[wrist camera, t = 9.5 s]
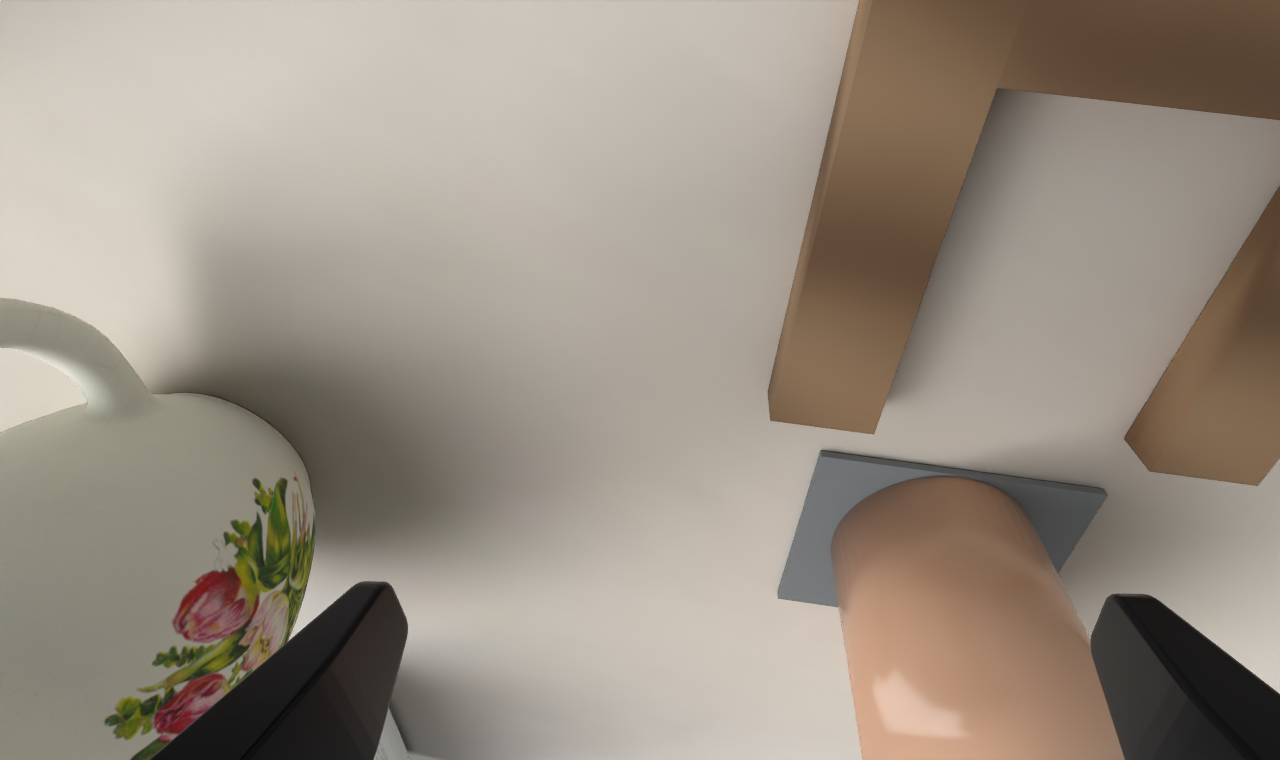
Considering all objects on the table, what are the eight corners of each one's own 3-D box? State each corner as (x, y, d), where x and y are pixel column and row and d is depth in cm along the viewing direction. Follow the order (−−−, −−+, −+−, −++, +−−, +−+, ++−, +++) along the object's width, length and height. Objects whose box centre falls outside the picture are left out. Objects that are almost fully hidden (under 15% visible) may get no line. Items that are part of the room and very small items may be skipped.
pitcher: (321, 231, 20) (-236, 644, 8) (390, 622, 30) (180, 1055, 18) (-41, 183, 20) (-1049, 514, 9) (147, 585, 30) (-207, 985, 19)
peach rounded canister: (813, 495, 23) (844, 709, 17) (1029, 460, 21) (1154, 683, 15) (861, 671, 28) (899, 886, 21) (1040, 653, 26) (1138, 883, 20)
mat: (820, 450, 22) (821, 456, 22) (1103, 488, 22) (1107, 495, 22) (777, 592, 26) (777, 598, 26) (1016, 626, 26) (1019, 633, 25)
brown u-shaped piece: (881, -96, 14) (897, -99, 13) (1574, -24, 14) (1660, -20, 12) (767, 391, 21) (770, 420, 20) (1225, 452, 21) (1257, 485, 19)
